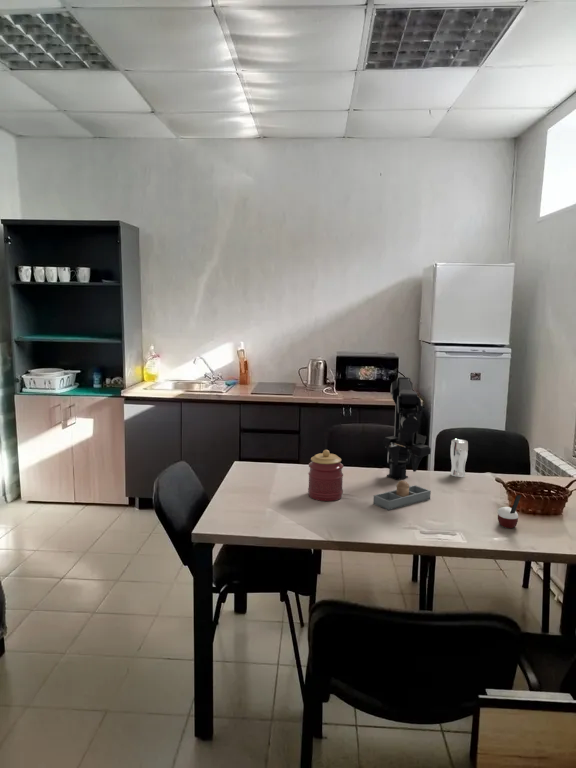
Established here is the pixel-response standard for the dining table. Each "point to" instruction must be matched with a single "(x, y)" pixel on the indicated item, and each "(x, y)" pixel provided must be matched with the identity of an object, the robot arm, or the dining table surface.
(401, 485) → the brown rounded cylinder
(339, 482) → the canister
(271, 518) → the dining table surface
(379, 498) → the grey compartment tray
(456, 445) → the beer glass
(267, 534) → the dining table surface
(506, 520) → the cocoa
